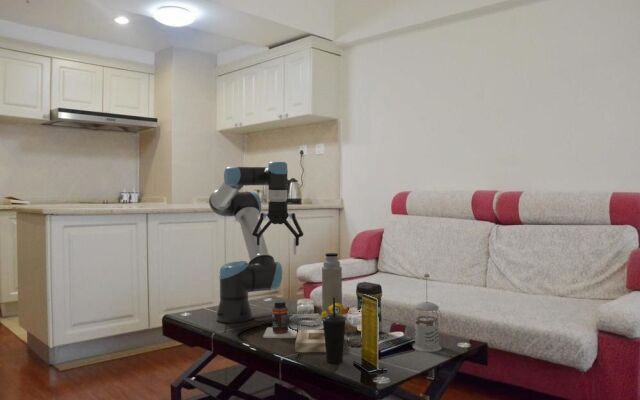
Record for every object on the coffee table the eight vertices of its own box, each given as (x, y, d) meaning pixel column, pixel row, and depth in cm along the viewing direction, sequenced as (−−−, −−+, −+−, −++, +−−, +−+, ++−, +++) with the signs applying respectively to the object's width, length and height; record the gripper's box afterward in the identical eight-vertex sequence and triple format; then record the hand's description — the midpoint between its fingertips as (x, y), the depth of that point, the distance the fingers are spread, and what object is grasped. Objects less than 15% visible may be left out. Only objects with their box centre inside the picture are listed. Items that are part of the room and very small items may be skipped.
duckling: (351, 328, 197) (351, 302, 196) (347, 331, 192) (347, 305, 191) (323, 326, 200) (322, 300, 200) (319, 329, 195) (318, 303, 195)
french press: (406, 346, 173) (405, 273, 173) (428, 340, 180) (428, 269, 180) (428, 353, 165) (428, 277, 165) (451, 346, 173) (451, 273, 172)
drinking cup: (318, 359, 161) (317, 296, 160) (340, 356, 164) (339, 294, 163) (328, 367, 154) (327, 301, 153) (351, 363, 157) (350, 298, 156)
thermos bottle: (323, 320, 209) (322, 252, 209) (342, 320, 208) (342, 252, 208) (321, 325, 201) (320, 254, 201) (341, 325, 200) (340, 254, 200)
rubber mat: (263, 338, 185) (263, 336, 185) (267, 328, 197) (267, 327, 197) (296, 338, 184) (296, 336, 184) (298, 328, 196) (298, 327, 196)
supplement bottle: (291, 330, 192) (291, 300, 192) (283, 334, 186) (283, 303, 186) (277, 328, 194) (277, 299, 194) (269, 332, 189) (269, 302, 189)
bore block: (295, 352, 168) (295, 343, 168) (298, 338, 184) (298, 329, 184) (343, 352, 168) (343, 343, 168) (342, 337, 184) (342, 329, 184)
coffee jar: (352, 331, 192) (352, 282, 192) (366, 327, 198) (366, 279, 197) (372, 336, 185) (371, 285, 185) (385, 332, 191) (385, 282, 190)
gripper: (244, 201, 199) (245, 254, 200) (308, 201, 197) (308, 255, 199) (248, 200, 206) (248, 251, 208) (309, 200, 205) (309, 252, 206)
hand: (277, 253), depth 203 cm, fingers open, 13 cm apart
